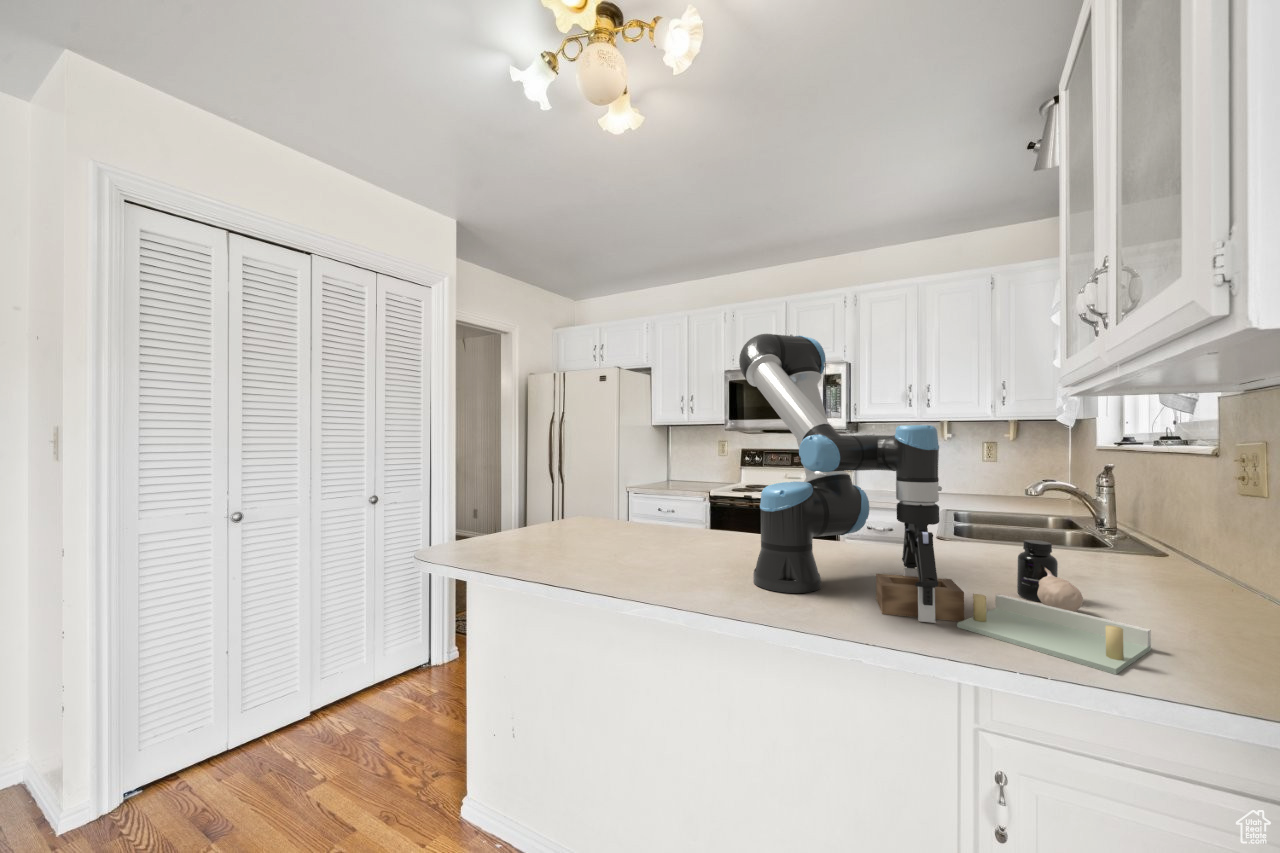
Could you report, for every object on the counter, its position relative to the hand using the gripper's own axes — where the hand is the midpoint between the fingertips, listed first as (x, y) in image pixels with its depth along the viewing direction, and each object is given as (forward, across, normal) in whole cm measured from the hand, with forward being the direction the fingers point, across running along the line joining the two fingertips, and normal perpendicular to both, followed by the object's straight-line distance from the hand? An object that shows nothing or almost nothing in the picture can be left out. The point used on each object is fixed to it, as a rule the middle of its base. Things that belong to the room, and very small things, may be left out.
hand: (919, 610), depth 103 cm
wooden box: (0, 0, 0) cm, 0 cm away
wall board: (0, -9, -18) cm, 20 cm away
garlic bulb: (0, +8, -26) cm, 28 cm away
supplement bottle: (0, +16, -26) cm, 30 cm away
